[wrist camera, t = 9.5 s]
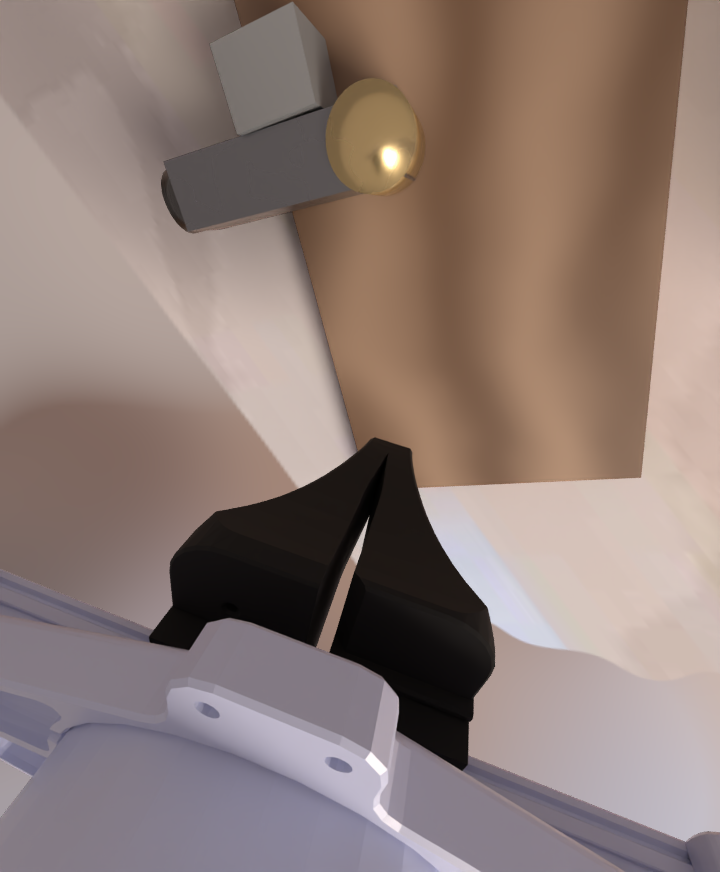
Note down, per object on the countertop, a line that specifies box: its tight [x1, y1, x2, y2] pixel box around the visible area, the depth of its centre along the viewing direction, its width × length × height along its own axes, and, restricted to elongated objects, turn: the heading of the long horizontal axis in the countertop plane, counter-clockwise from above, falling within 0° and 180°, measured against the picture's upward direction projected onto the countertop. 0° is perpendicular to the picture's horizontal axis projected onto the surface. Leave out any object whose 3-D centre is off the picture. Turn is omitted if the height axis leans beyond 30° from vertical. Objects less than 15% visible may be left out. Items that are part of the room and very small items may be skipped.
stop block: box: [210, 2, 337, 136], centre depth 14 cm, size 3×2×3 cm
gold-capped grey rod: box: [161, 78, 425, 233], centre depth 15 cm, size 10×3×3 cm, turn 101°
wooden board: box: [234, 0, 688, 488], centre depth 17 cm, size 14×24×2 cm, turn 14°
